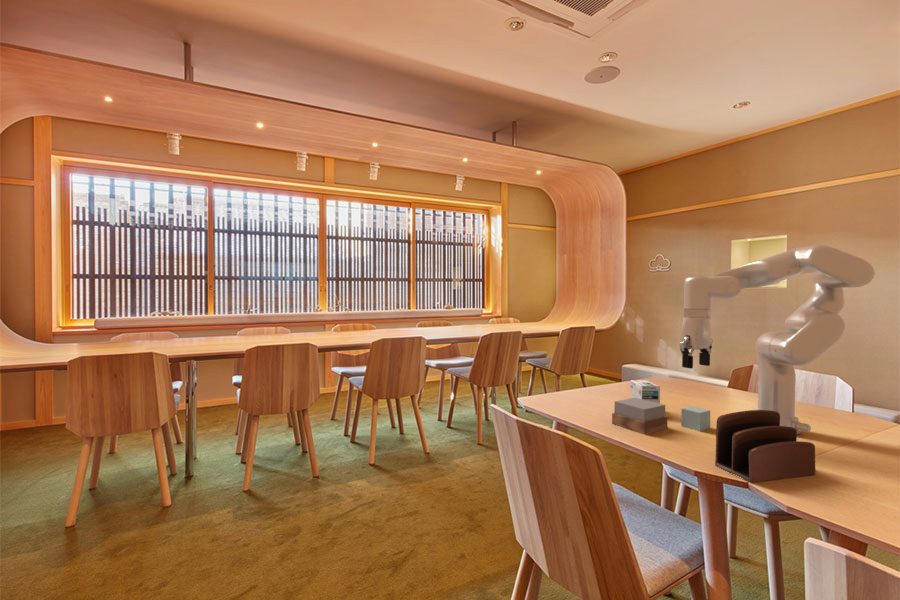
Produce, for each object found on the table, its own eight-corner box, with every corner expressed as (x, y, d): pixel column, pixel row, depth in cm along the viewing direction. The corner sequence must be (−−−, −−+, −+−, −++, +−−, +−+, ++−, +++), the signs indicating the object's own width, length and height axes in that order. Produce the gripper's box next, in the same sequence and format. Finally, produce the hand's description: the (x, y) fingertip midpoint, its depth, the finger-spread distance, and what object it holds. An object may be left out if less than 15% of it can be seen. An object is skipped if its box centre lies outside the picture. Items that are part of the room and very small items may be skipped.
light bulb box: (660, 415, 151) (660, 386, 151) (641, 415, 151) (641, 385, 151) (647, 407, 162) (647, 379, 162) (629, 407, 162) (629, 379, 162)
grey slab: (665, 417, 138) (665, 404, 138) (644, 422, 132) (644, 409, 132) (635, 408, 147) (635, 397, 147) (614, 413, 141) (614, 401, 141)
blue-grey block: (710, 428, 137) (710, 410, 137) (699, 431, 134) (700, 413, 134) (691, 423, 142) (691, 406, 142) (681, 426, 139) (681, 408, 139)
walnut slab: (667, 429, 137) (667, 417, 137) (644, 435, 131) (644, 423, 131) (634, 420, 148) (634, 408, 147) (612, 425, 141) (612, 413, 141)
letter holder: (714, 466, 108) (715, 411, 107) (776, 459, 112) (777, 407, 112) (750, 484, 98) (751, 423, 98) (816, 475, 102) (817, 418, 102)
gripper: (700, 313, 145) (699, 362, 146) (670, 314, 136) (669, 367, 137) (723, 314, 139) (722, 366, 139) (693, 315, 130) (692, 370, 130)
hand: (696, 366), depth 138 cm, fingers open, 9 cm apart
